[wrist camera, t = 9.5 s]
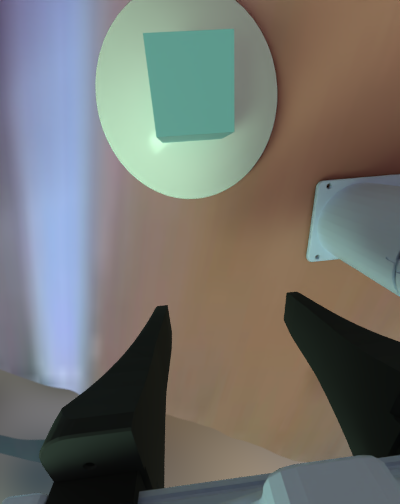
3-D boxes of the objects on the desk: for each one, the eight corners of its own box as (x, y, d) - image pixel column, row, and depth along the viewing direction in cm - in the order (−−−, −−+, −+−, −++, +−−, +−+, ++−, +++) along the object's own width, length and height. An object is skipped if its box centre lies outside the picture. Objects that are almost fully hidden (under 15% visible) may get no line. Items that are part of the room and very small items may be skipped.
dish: (277, -10, 14) (284, -24, 13) (266, 190, 20) (271, 192, 18) (79, -1, 14) (70, -15, 13) (122, 202, 19) (118, 205, 18)
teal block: (219, 65, 15) (234, 28, 11) (221, 138, 17) (234, 132, 12) (153, 68, 15) (142, 32, 10) (162, 142, 16) (156, 137, 12)
